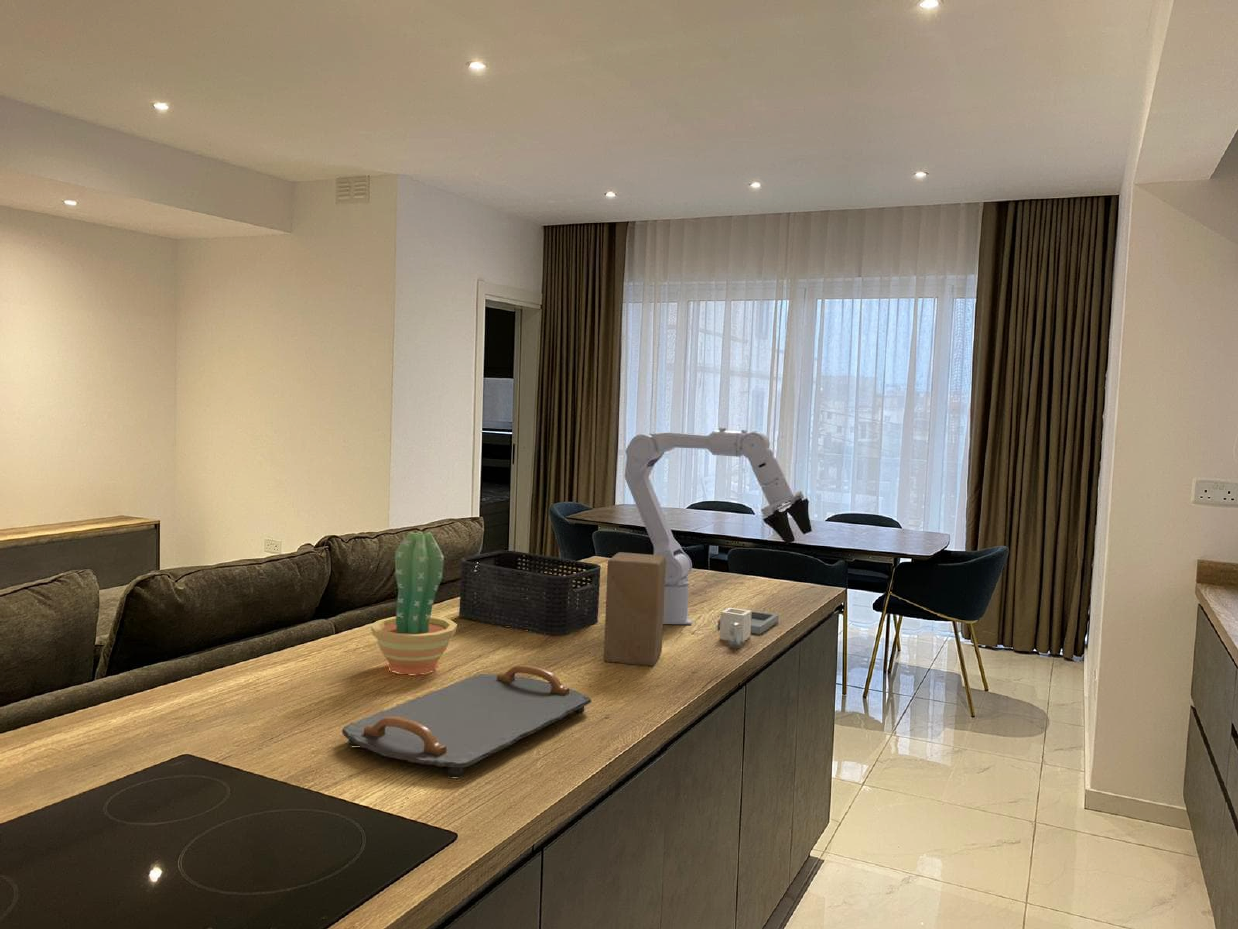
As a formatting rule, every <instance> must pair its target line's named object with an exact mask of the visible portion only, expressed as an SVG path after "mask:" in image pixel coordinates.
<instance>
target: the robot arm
mask: <svg viewBox="0 0 1238 929" xmlns="http://www.w3.org/2000/svg"><path fill="white" fill-rule="evenodd" d="M770 444H771V443H770V440H769V438H768V436H767V435H766V434H764V433H762V432H758V431H752V432H749V433H748V430H747V429H741V430H727V428H726V427H719V429H714V430H713V431H712V432H710V434H708V435H707V434H698V433H697V434H695V433H686V432H675V431H674V432H673V431H667V432H657V433H649V434H638V435H635V436H633V437H632V438H631V440H630V442H629V443H628V445H627V448H626V449H625V454H626V461H625V470H624V478H625V481H626V484H627V487H628V489H629V491H630V494H631V496H632V498H633V500H634V501H633V502H634V503H635V506H636V508H637V510H638V513H639V515H640V518H641V520H642V522H643V525H644V527H645V530H646V531H647V535H648V537H649V539H650V541H651V544H652V546H653V555H662V556H665V557H666V572H665V593H664V614H663V625H692V624H693V622H692V621H691V620H690V619H689V617H688V612H689V610H688V609H689V608H688V606H689V592H690V589H689V588H690V581H689V579H688V576H689V574H690V573H691V571H692V569H693V562H692V560H691V558H690V556H689V555H688V554H687V553H686V552H685V551H684V550H683V548H682V546H681V545H680V543H679V542H678V541H677V540H676V539H675V538H674V535H673V532H672V530H671V528H670V525H669V523H668V520H667V518H666V515H665V514H664V511H663V508H662V506H661V504H660V501H659V499H658V496H657V494H656V492H655V489H654V487H653V484H652V483H651V480H650V475H651V473H652V470H653V469H654V466H655V464H656V463H658V461H659V460H661V458H662V457H663V456H664V454H666V452H667V453H668V452H671V451H672V450H674V449H675V448H678V449H679V448H680V449H702V450H703V449H704V450H705V449H706V450H708V451H709V452H710V453H711V455H713V456H722V457H723V456H724V457H737V458H741V457H742V456H743V457H745V458H746V459H748V462H749V464H750V466H751V468H752V472H753V474H754V476H755V478H756V480H757V482H758V484H759V486H760V489H761V491H762V493H763V495H764V497H765V499H766V501H767V503H768V505H767V506H765V507H763V508H761V509H760V511H761V512H762V513H761V514H762V515H763V518H762V520H763V523H764V524H765V525H767V526H769V527H770V528H771V529H773V531H775V532H776V534H777V535H778V536H779V537H780V538H781V540H782V541H783V542H784V543H785V544H786V545H788V544H791V543H793V542H794V541H796V538H795V535H794V533H793V530H792V528H791V527H792V526H790V521H789V517H788V516H789V515H790V517H791V518H792V519H793V521H794V522H795V524H796V526H797V527H798V529H799V530H800V532H801V533H802V534H803V535H807V534H809V533H812V532H813V530H812V524H811V519H810V513H809V511H810V510H809V506H810V505H809V503H810V501H809V499H808V497H806V498H805V497H804V494H803V492H802V490H798V491H797V492H794V493H793V491H792V489H791V488H790V485H789V483H788V481H787V479H786V477H785V475H784V472H783V471H782V468H781V467H780V465H779V462H778V461H777V458H776V457H775V456H774V452H773V451H772V450H771V448H770ZM783 504H784V505H783ZM783 509H785V510H783ZM781 510H783V511H781ZM788 514H789V515H788Z"/></svg>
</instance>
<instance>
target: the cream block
mask: <svg viewBox="0 0 1238 929" xmlns="http://www.w3.org/2000/svg"><path fill="white" fill-rule="evenodd" d="M752 611H753V610H750V611H749V610H748V609H743V610H742V608H734V607H727V608H726V609H724V610H722V611H720V619H721V621H720V628H719V640H724V641H729V638H730V623H731V622H739V623H742V629H741V642H742V644H743V643H744V642H745V640H746V641H747V640H749V639H750V638H751V633H750V630H751V612H752ZM749 637H750V638H749ZM748 638H749V639H748Z"/></svg>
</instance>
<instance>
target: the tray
mask: <svg viewBox="0 0 1238 929" xmlns="http://www.w3.org/2000/svg"><path fill="white" fill-rule="evenodd" d="M741 609H742V608H741ZM742 610H744V608H743V609H742ZM749 611H752V612H751V630H750V634H752V633H756V634H755V635H759V634H760V635H762V634H763V633H765V632H766V631H768V630H769V629H771V628H770V626H772V627H774V626H775V625H776V624H778V623H779V614H777V613H768V612H762V611H755V610H749ZM720 621H721V618H720V619H718V620H717V629H720ZM777 622H778V623H777ZM775 623H776V624H775ZM774 624H775V625H774ZM773 625H774V626H773ZM768 628H769V629H768ZM764 631H765V632H764ZM761 633H762V634H761Z"/></svg>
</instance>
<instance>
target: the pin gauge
mask: <svg viewBox="0 0 1238 929" xmlns="http://www.w3.org/2000/svg"><path fill="white" fill-rule="evenodd" d="M741 629H742V623H739V622H731V623H730V638H729V640H728V647H729V648H730V649H740V648H741V646H742V644H741Z"/></svg>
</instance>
